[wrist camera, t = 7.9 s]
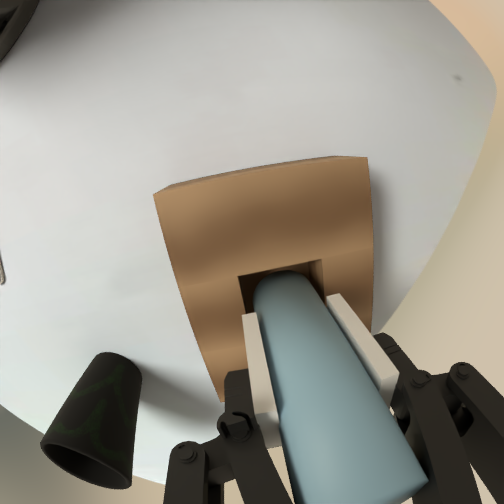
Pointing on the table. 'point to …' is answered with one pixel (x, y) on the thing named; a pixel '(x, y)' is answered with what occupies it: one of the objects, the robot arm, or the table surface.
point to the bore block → (266, 244)
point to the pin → (328, 404)
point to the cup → (98, 424)
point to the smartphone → (1, 273)
